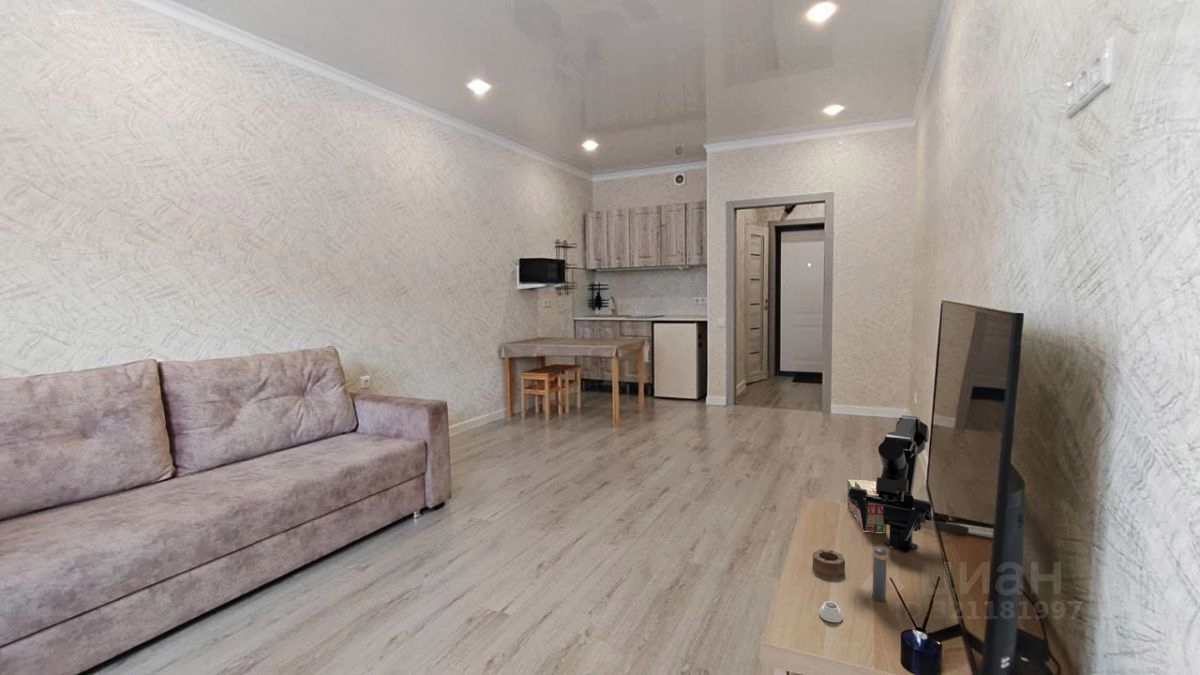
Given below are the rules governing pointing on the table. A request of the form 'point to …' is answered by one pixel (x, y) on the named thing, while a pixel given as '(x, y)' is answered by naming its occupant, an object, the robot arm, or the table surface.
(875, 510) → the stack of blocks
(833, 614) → the white jar
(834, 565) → the bead
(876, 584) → the grey knob-topped cylinder
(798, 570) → the table surface
